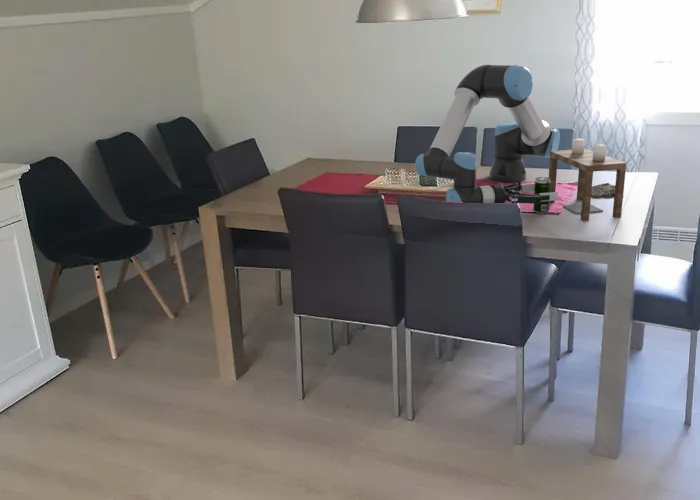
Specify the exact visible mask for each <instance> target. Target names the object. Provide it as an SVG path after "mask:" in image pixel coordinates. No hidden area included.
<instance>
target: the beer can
mask: <svg viewBox="0 0 700 500" xmlns="http://www.w3.org/2000/svg"><path fill="white" fill-rule="evenodd" d="M534 183H535V188H534V191H533V194H539V193H550V187H551V181H550V178H549V177H548V176H544V177H543V176H538V177H536V178H535V180H534ZM549 202H550V201H542V202H541V204H533V208H532V210H533V211H534V213H535V214H541V215H542V214H548V213H549V210H550V203H549Z"/></svg>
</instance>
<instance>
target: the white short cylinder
mask: <svg viewBox="0 0 700 500" xmlns="http://www.w3.org/2000/svg"><path fill="white" fill-rule="evenodd" d="M585 142H586V139H585V138H580V137H579V138H573V139H572V149H571V150H572V154H576V155H581V154H584V148H585Z"/></svg>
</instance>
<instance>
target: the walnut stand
mask: <svg viewBox="0 0 700 500" xmlns="http://www.w3.org/2000/svg"><path fill="white" fill-rule="evenodd" d="M593 152H594V150H592V149H588V148H585V147H584V154H581V155H576V154H572V149H561V150H557V151H550V158H549V164H548V165H549V167H548V178H550V181H551V187H550V192H556V185H557V174H558V173H557V172H558V161H559V162H562V163H565V164H567V165H569V166H571V167H574V168H577V169H578V174H577V175H578V177H577V188H576V200H578V201H581V204H582V208H581V214H580V221H583V222H590V214H591V213H590V204H591V203H592V202H591V201H592V198H591V191H592V186H593V176H594V172H603V171H605V172H606V171H616V174H615V175H616V177H615V194H614V197H613V205H612V214H611V215H612V218H614V219H620V218H622V213H623V212H622V211H623V210H622V209H623V201H624V200H623V199H624V191H625V182H626V179H625V178H626V170H627V162H625V161H622V160H619V159H617V158H614V157H611V156H609V155H608V156H607V155H606V156H605V161H596V160H593ZM555 202H556V200H553V201H550V202H549V204H555Z"/></svg>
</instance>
